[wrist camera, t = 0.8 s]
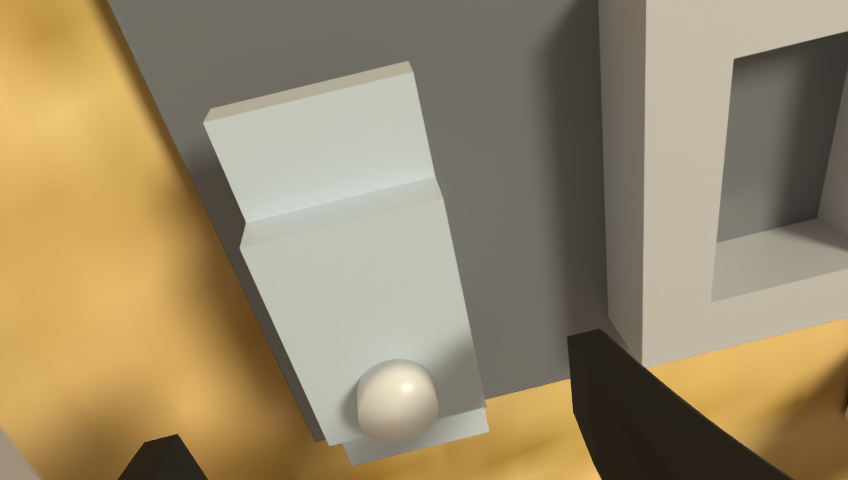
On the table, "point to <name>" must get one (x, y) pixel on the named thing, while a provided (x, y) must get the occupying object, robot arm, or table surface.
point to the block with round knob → (356, 258)
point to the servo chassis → (565, 156)
